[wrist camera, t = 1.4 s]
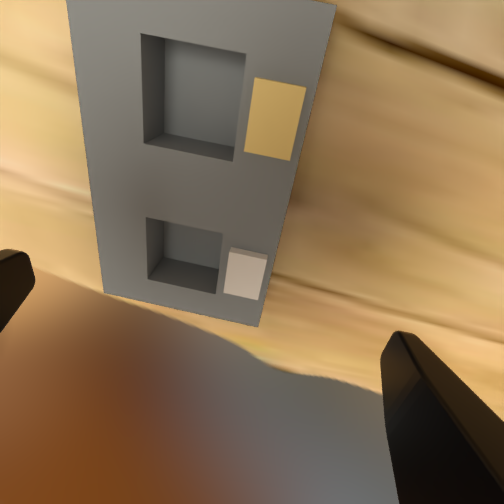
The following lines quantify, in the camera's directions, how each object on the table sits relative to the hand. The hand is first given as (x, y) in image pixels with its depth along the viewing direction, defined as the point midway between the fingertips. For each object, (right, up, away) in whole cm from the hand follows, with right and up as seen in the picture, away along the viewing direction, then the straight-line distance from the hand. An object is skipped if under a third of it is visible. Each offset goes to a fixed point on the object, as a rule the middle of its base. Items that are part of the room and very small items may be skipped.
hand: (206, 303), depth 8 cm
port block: (-2, +6, +10) cm, 12 cm away
